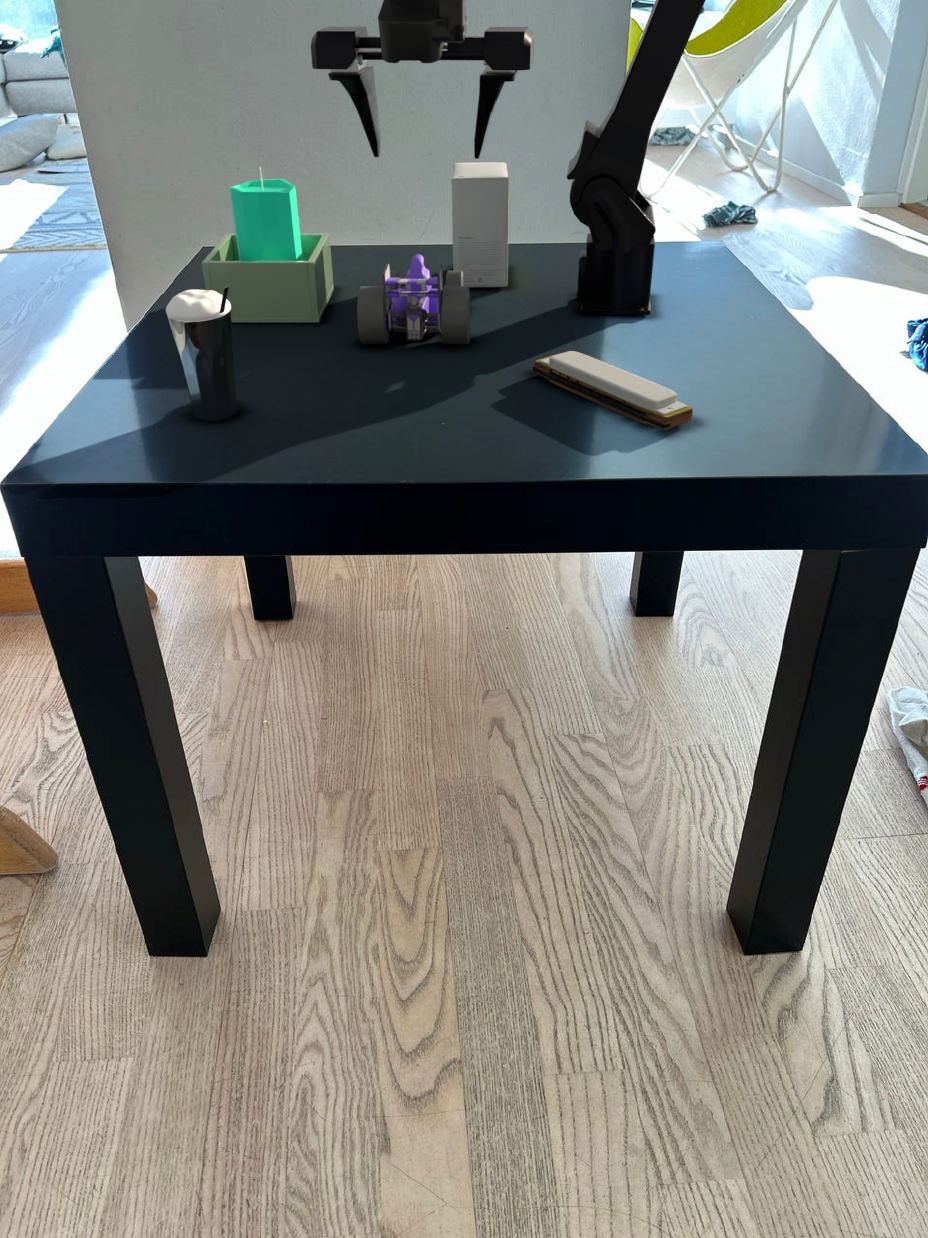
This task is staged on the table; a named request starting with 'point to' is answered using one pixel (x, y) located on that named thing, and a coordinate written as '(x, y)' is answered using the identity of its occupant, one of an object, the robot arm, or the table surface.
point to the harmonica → (615, 389)
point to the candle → (266, 220)
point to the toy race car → (415, 306)
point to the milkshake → (205, 350)
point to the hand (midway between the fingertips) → (427, 157)
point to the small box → (480, 223)
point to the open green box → (273, 282)
